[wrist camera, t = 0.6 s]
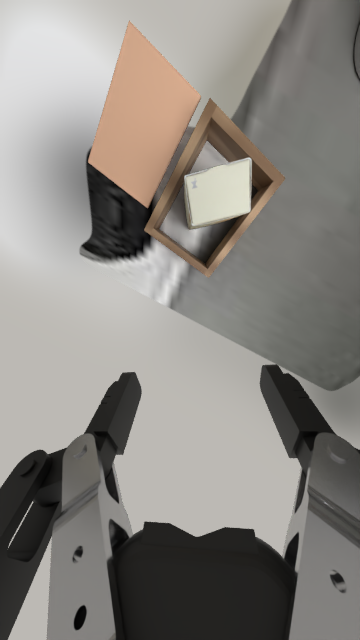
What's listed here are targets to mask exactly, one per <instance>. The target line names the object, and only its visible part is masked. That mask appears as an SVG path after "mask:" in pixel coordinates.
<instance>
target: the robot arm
mask: <svg viewBox="0 0 360 640" xmlns="http://www.w3.org/2000/svg"><path fill="white" fill-rule="evenodd" d="M355 66H356V71H357V73H358V76H359V78H360V25H359V28H358V32H357V36H356V43H355ZM260 388H261V392H262V394H263V397H264V399H265V401H266V404H267V406H268V409H269V411H270V413H271V416H272V418H273V420H274V423H275V425H276V428H277V430H278V432H279V435H280V437H281V439H282V442H283V444H284V446H285V449H286V451H287V453H288V456H289V458H298V460H299V462H300V465H301V471H300V476H299V481H298V486H297V492H296V497H295V502H294V507H293V513H292V517H291V520H290V523H289V527H288V531H287V535H286V540H285V545H284V550H283V555H282V556H281V555H280V554H279V553H278V552H277V551H276V550H275V549H273V548H272V547H271V546H270V545H268V544H267V543H266V542H264V541H263V540H261V539H259V538H257V537H255V532H254V530H253V529H241V528H228V527H227V528H226V527H225V528H222V529H219V530H216V531H214V532H211V533H208V534H206V535H203V536H200V537H195V536H193V535H191V534H189V533H187V532H185V531H183V530H181V529H179V528H177V527H176V526H174V525H172V524H170V523H157V522H144V528H143V530H140V531H139V532H137V533H135V534H134V535H133V533H132V529H131V525H130V521H129V518H128V515H127V513H126V510H125V508H124V506H123V502H122V498H121V493H120V489H119V484H118V480H117V475H116V471H115V467H114V463H113V461H114V458H115V455H123V453H124V449H125V447H126V443H127V440H128V437H129V433H130V430H131V427H132V424H133V421H134V417H135V414H136V411H137V407H138V404H139V401H140V398H141V386H140V383H139V381H138V378H137V376H136V373H135V372H127V373H122V374H121V376H120V378H119V380H118V381H115V382H114V383H113V384H112V385H111V386H110V387H109V388H108V390H107V392H106V394H105V396H104V398H103V399H102V401H101V404H100V405H99V407H98V409H97V411H96V413H95V415H94V417H93V418H92V420H91V422H90V424H89V426H88V428H87V430H86V432H85V433H84V434H83V435H81V436H79V437H77V438H76V439H75V440H74V441H73V442H72V443H71V444H70V445H69V446H68V447H67V448H65V449H62V450H59V451H56V452H54V453H51V454H47V453H46V452H45V451H43V450H37V451H34V452H32V453H30V454H29V455H27V456H26V457H25V458H24V459H22V460H21V461H20V462H19V463H18V464H17V466H16V467H15V468H14V470H13V471H12V472H11V474H10V475H9V477H8V478H7V480H6V481H5V482H4V484H3V485H2V487H1V488H0V640H8V637H9V635H10V633H11V630H12V628H13V626H14V623H15V621H16V619H17V616H18V614H19V612H20V609H21V607H22V605H23V602H24V600H25V597H26V595H27V593H28V590H29V588H30V586H31V583H32V581H33V579H34V576H35V574H36V572H37V569H38V567H39V565H40V562H41V560H42V558H43V555H44V553H45V551H46V548H47V546H48V543H49V541H50V539H51V536H52V548H51V567H50V586H49V607H48V627H47V640H360V450H358V449H356V448H354V447H353V446H352V445H351V444H350V443H349V442H347V441H346V440H344V439H343V438H341V437H339V436H337V435H336V434H335V433H334V432H333V430H332V429H331V427H330V426H329V425H328V423H327V422H326V420H325V419H324V417H323V416H322V415H321V413H320V412H319V410H318V409H317V407H316V406H315V404H314V403H313V402H312V400H311V399H310V398H309V396H308V394H307V393H306V392H305V391H304V389H303V388H302V386H301V384H300V383H299V382H298V380H296V379H295V378H294V377H292V376H291V375H290V374H289V373H286V374H283V372H282V371H281V369H280V368H279V366H278V365H263V366H262V371H261V378H260ZM32 501H33V502H34V503H33V504H32V506H31V508H30V510H29V512H28V513H27V515H26V517H25V519H24V521H23V522H22V525H21V526H20V528H19V530H18V532H17V533H16V535H15V537H14V539H13V541H12V543H11V545H10V546H9V543H10V541H11V539H12V537H13V535H14V534H15V532H16V530H17V528H18V526H19V525H20V523H21V521H22V519H23V517H24V515H25V514H26V512H27V510H28V508H29V506H30V505H31V503H32ZM8 546H9V548H8ZM7 549H8V550H7Z"/></svg>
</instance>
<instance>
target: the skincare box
mask: <svg viewBox="0 0 360 640" xmlns="http://www.w3.org/2000/svg"><path fill="white" fill-rule="evenodd" d="M251 179H252V160H251V158H245V159H241V160H237V161H234V162H230V163H227V164H223V165H219V166H216V167H212V168H209V169H206V170H202V171H199V172H195V173H192V174H188V175H185V176H184V203H185V210H186V217H187V223H188V228H189V230H191V229H196V228H201V227H206V226H210V225H214V224H217V223H221V222H224V221H227V220H230V219H232V218H235V217H238V216H241V215H244V214H246V213H249V212H250V211H251Z"/></svg>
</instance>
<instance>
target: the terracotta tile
mask: <svg viewBox="0 0 360 640" xmlns="http://www.w3.org/2000/svg"><path fill="white" fill-rule="evenodd" d="M200 99H201V96H200V94H199V93H198V92H197V91H196V90H195V89H194V88H193V87H192V86H191V85H190V84H189V83H188V82H187V81H186V80H185V79H184V78H183V77H182V75H181V74H179V72H177V70H176V69H175V68H174V67H173V66H172V65H171V64H170V63H169V62H168V61H167V60H166V59H165V58H164V57H163V56H162V54H160V52H159V51H158V50H157V49H156V48H155V47H154V46H153V45H152V44H151V43H150V42H149V41H148V40H147V39H146V38H145V37H144V36H143V35H142V33H141V32H140V31H139V30H138V29H137V28H136V27H135V26H134V25H133V24H132V23H131V22H130V21H129V23H128V26H127V30H126V34H125V37H124V40H123V43H122V47H121V51H120V54H119V58H118V60H117V64H116V67H115V71H114V74H113V78H112V81H111V84H110V88H109V91H108V95H107V98H106V102H105V105H104V108H103V112H102V115H101V119H100V122H99V125H98V129H97V132H96V136H95V139H94V143H93V146H92V149H91V153H90V156H89V160H88V163H90V164H91V165H92V166H94V167H95V168H96V169H97V170H99V171H100V172H101V173H103V174H104V175H105V176H106V177H108V178H109V179H110V180H112V181H113V182H114V183H115V184H117V185H118V186H119V187H121V188H122V189H123V190H125V191H126V192H127V193H128V194H130V195H131V196H132V197H134V198H135V199H136V200H137V201H139V202H140V203H141V204H143V205H144V206H145V207H146V208H148V207H149V205H150V203H151V201H152V199H153V197H154V195H155V193H156V191H157V189H158V187H159V185H160V182H161V180H162V178H163V176H164V174H165V172H166V170H167V168H168V166H169V164H170V162H171V160H172V158H173V155H174V153H175V151H176V149H177V147H178V145H179V143H180V141H181V139H182V137H183V135H184V133H185V130H186V128H187V126H188V124H189V122H190V120H191V118H192V116H193V114H194V112H195V110H196V107H197V105H198V103H199V101H200Z"/></svg>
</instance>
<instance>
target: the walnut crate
mask: <svg viewBox="0 0 360 640" xmlns="http://www.w3.org/2000/svg"><path fill="white" fill-rule="evenodd" d="M206 141H208V142H209V143H210V144H211V145H212V146H213V147H214V148H215V149H216V150H217V151H219V152H220V153H221V154H222V155H223V156H224V157H225V158H226V159H227V160H228V161H229V162H234V161H237V160H241V159H245V158H251V160H252V179H251V184H252V185H253V186H254V187H255V188H256V189H257V190H258V192H257V193H256V195H255V196H254V197H253V199H252V200H251V211H250V212H249V213H246V214H244V215H241V216H239V218H238V219H237V221H236V222H235V223H234V225H233V226H232V227H231V229H230V230H229V232H228V233H227V234H226V236H225V237H224V238H223V240H222V241H221V243H220V244H219V245H218V247H217V248H216V249H215V251H214V252H213V254H212V255H211V256H210V258H209V259H208V260H207V262H206V263H203V262H202V261H201V260H199V259H198V258H197V257H195V256H194V255H193V254H191V253H190V252H189V251H187V250H186V249H185V248H183V247H182V246H181V245H179V244H178V243H177V242H175V241H174V240H173V239H171V238H170V237H169V236H167V235H166V234H165V233H163V232H162V231H161V230H160V229H159V228H160V226H161V224H162V223H163V221H164V219H165V217H166V215H167V213H168V211H169V210H170V208H171V206H172V204H173V202H174V200H175V198H176V196H177V195H178V193H179V191H180V189H181V187H182V185H183V183H184V176H185V175H188V174H189V172H190V170H191V169H192V167H193V165H194V163H195V161H196V159H197V157H198V156H199V154H200V152H201V150H202V148H203V146H204V144H205V142H206ZM284 180H285V177H284V176H283V175H282V174H281V173H280V172H279V171H278V170H277V169H276V168H275V167H274V165H273V164H272V163H271V162H270V161H269V160H268V159H267V158H266V157H265V156H264V155H263V154H262V153H261V152H260V151H259V150H258V148H257V147H256V146H255V145H254V144H253V143H252V142H251V141H250V140H249V139H248V138H247V137H246V136H245V135H244V134H243V133H242V131H241V130H240V129H239V128H238V127H237V126H236V125H235V124H234V123H233V122H232V121H231V120H230V119H229V118H228V117H227V116H226V115H225V113H224V112H223V111H222V110H221V109H220V108H219V107H218V106H217V105H216V104H215V103H214V102H213V101H212V100H211V98H210V99H209V101H208V103H207V105H206V107H205V109H204V111H203V113H202V115H201V117H200V119H199V121H198V123H197V125H196V127H195V129H194V131H193V133H192V135H191V137H190V139H189V141H188V143H187V145H186V147H185V149H184V151H183V153H182V155H181V157H180V159H179V161H178V163H177V165H176V167H175V169H174V171H173V173H172V175H171V177H170V179H169V181H168V183H167V185H166V187H165V189H164V191H163V193H162V195H161V197H160V199H159V201H158V203H157V205H156V207H155V209H154V211H153V213H152V215H151V217H150V219H149V221H148V223H147V225H146V227H145V229H144V231H146V232H147V233H148V234H150V235H151V236H152V237H154V238H155V239H157V240H158V241H159V242H161V243H162V244H163V245H165V246H166V247H167V248H169V249H170V250H172V251H173V252H174V253H176V254H177V255H178V256H180V257H181V258H182V259H184V260H185V261H187V262H188V263H189V264H191V265H192V266H193V267H195V268H196V269H197V270H199V271H200V272H201V273H203V274H204V275H206V276H207V277H208V278H209V277H210V275H211V274H212V273H213V272H214V270H215V269H216V268H217V266H218V265H219V264H220V263H221V261H222V260H223V259H224V257H225V256H226V255H227V253H228V252H229V251H230V250H231V248H232V247H233V246H234V244H235V243H236V242H237V240H238V239H239V238H240V237H241V235H242V234H243V233H244V231H245V230H246V229H247V228H248V226H249V225H250V224H251V222H252V221H253V220H254V218H255V217H256V216H257V215H258V213H259V212H260V211H261V209H262V208H263V207H264V206H265V204H266V203H267V202H268V200H269V199H270V198H271V196H272V195H273V194H274V193H275V191H276V190H277V189H278V187H279V186H280V185H281V184H282V182H283V181H284Z"/></svg>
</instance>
